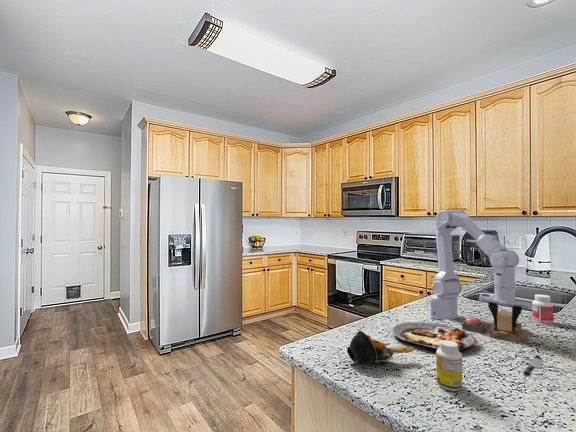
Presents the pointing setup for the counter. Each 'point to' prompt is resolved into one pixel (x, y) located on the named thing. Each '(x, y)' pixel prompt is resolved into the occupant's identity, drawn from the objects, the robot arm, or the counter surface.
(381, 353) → the fried shrimp in bowl
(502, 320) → the block
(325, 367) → the counter surface
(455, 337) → the food plate
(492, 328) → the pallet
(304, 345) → the counter surface
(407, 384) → the counter surface
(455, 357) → the supplement bottle
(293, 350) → the counter surface
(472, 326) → the button housing
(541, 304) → the pill bottle
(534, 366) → the kitchen knife
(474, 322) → the button
